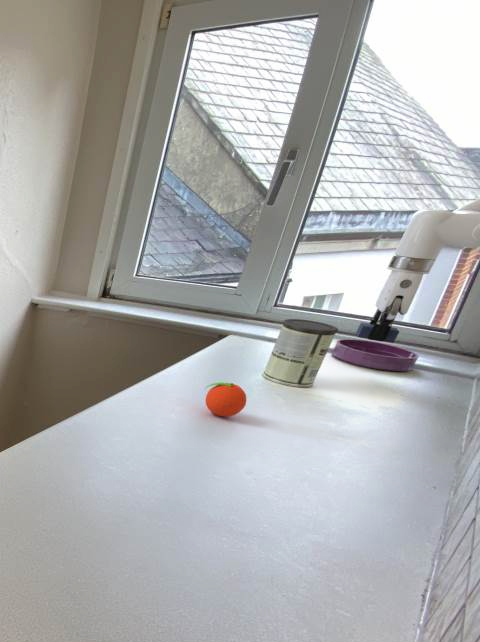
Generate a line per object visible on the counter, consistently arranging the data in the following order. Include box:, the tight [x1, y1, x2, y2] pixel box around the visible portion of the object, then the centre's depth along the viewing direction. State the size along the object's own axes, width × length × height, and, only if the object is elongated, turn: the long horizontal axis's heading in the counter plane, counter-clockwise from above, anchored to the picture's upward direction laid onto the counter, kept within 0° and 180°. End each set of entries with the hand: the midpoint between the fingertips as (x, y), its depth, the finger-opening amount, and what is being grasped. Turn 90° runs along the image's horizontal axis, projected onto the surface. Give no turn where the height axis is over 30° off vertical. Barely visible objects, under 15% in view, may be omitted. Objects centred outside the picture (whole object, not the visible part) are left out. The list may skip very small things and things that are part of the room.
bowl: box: [330, 338, 420, 372], centre depth 152 cm, size 17×17×4 cm
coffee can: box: [262, 318, 339, 388], centre depth 133 cm, size 10×10×14 cm
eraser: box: [355, 322, 400, 344], centre depth 140 cm, size 7×4×3 cm, turn 55°
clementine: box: [205, 382, 248, 418], centre depth 113 cm, size 8×7×7 cm
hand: (374, 337), depth 140 cm, fingers closed on eraser, 4 cm apart
